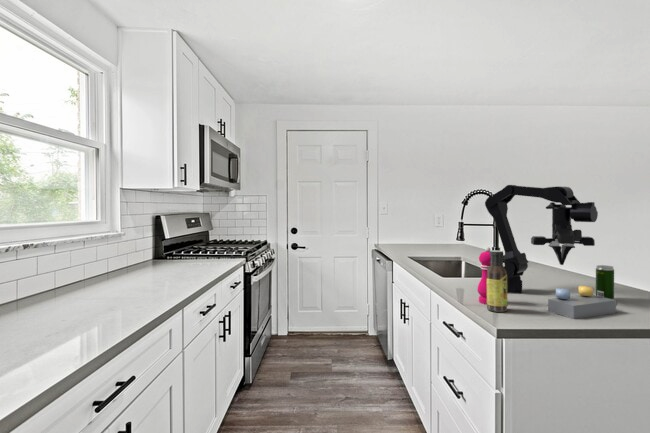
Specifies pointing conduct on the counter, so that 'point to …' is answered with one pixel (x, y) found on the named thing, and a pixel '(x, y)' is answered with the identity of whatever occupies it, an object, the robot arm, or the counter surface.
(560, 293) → the blue button
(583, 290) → the amber button
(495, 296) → the sauce bottle
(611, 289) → the beer can
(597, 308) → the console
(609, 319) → the counter surface
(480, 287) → the pepper mill
